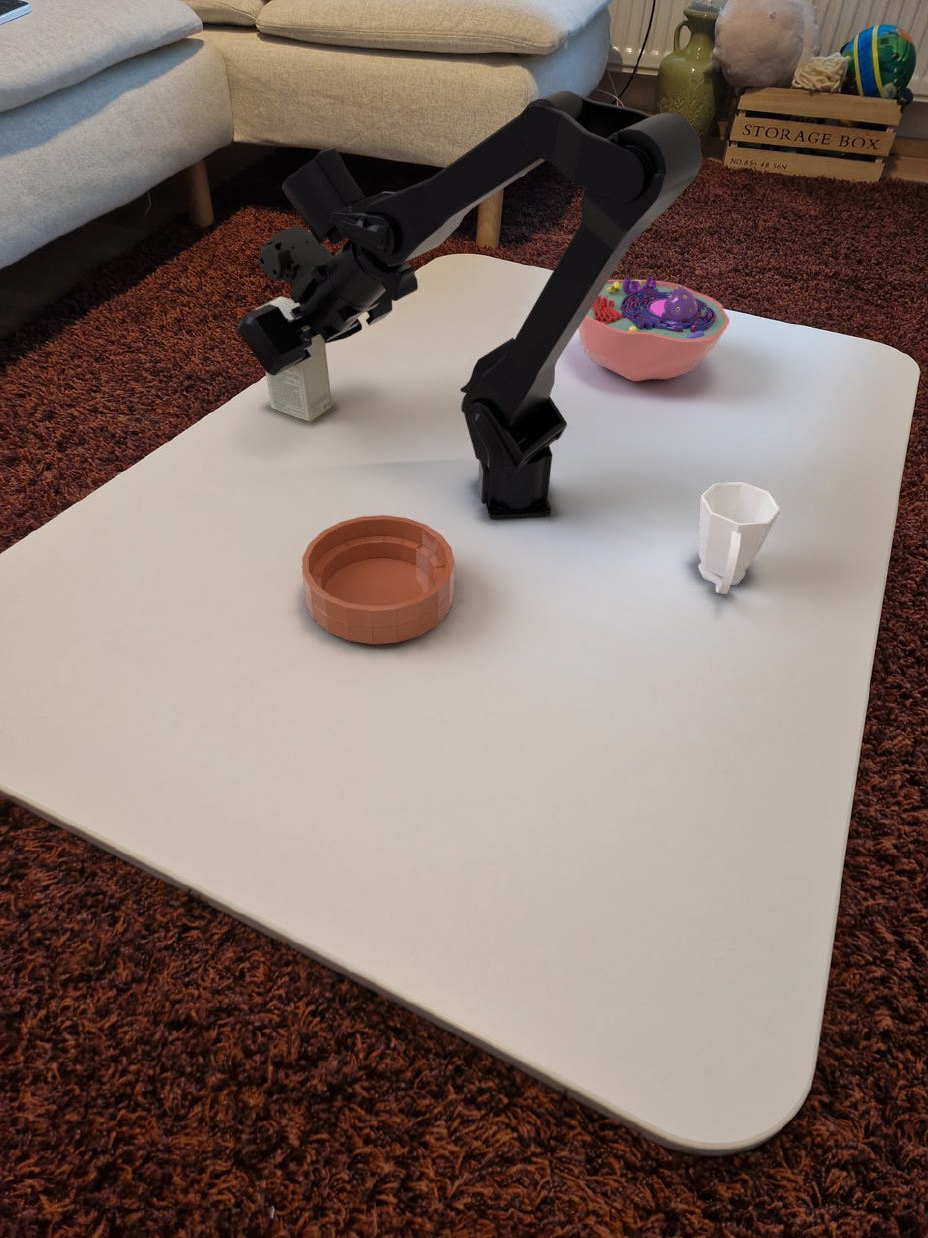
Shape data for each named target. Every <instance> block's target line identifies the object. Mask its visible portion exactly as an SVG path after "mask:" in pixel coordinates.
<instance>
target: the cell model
mask: <svg viewBox="0 0 928 1238" xmlns="http://www.w3.org/2000/svg"><path fill="white" fill-rule="evenodd" d="M729 324H730V318H729V316H728V314H727V313H726V312H725V309H724V307H723V305H722V304H721V302H719V301H718V300H717V299H715V298H713V297H711V296H709V295H706V294H703V293H702V292H698V291H695V289H692V288H689V287H687V286H685V285H682V284H678V283H674V282H667V281H662V280H656V279H653V276H647V279H631V278H629V277H625V278H624V279H609V280H608V281H607V283H606V284H605V286H604V288H603V289H602V291H601V292H600V294H599V296H598V297H597V299H596V300H595V302H594V303H593V305H592V307H591V308H590V310H589V311H588V313H587V315H586V316H585V318H584V319H583V321H582V322H581V324H580V326H579V327H578V329H577V331H578V337H579V342H580V346H581V349H582V350H583V352H584V354H585V355H586V356H587V357H588V358H589V360H591V362H593V363H595V364H597V365H598V366H601V367H603V368H604V369H607V370H610V371H612V372H613V373H615V374H617V375H619V376H621V377H623V378H625V379H627V380H628V381H632V382H642V381H648V380H668V379H673V378H677V377H679V376H682V375H685V374H687V373H689V372H691V371H692V370H693V369H694V368H695V367H696V366H697V365H698V364H699V363H700V362H701V361H702V360H704V358H705V357H706V356H708V355H709V354H710V352H711V351H712V350H713V349H714V348H715V347H716V345H717V344H718V343H719V341H720V339H721V337H722V336H723V334H724V332H725V331H726V329H727V327H728V326H729Z"/></svg>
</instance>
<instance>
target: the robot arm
mask: <svg viewBox="0 0 928 1238" xmlns="http://www.w3.org/2000/svg"><path fill="white" fill-rule="evenodd" d="M701 148H702V147H701V141H700V138H699V136H698V133H697V131H696V129H695V128H694V127H693V125H692V123H690V121H688V119H686V118H685V117H683V116H681V115H679V114H678V113H674V112H673V113H672V112H668V111H667V112H661V113H658V114H654V115H652V114H649V113H647V112H644V111H642V110H640V109H636V108H631V107H626V106H621V105H617V104H612V103H606V102H602V101H601V102H600V101H596V100H593V99H590V98H588V97H586V96H583V95H580V94H579V93H575V92H572V91H571V90H558V91H556V92H554V93H551V94H550V93H549V94H547V95H545V96H542V97H539V98H537V99H534V100H532V101H530V102H529V103H527V104H526V105H525V108H524V109H523V110H522V111H521V113H520V114H518V115H516V116H515V117H514V118H512V119H511V120H509V121H508V122H507V123H505V124H504V125H502V126H501V127H500V128H499V129H497V130H496V131H494V132H493V133H492V134H490V135H489V136H488V137H486V138H485V139H483V140H482V141H481V142H479V143H478V144H476V145H475V146H473V147H472V148H471V149H469V150H468V151H466V152H465V153H463V154H462V155H461V156H460V157H458V158H457V159H456V160H454V161H453V162H451V163H450V164H449V165H447V166H446V167H444V168H443V169H442V170H440V171H439V172H437V173H435V174H434V175H433V176H432V177H431V178H428V179H426V180H424V181H421V182H419V183H416V184H413V185H411V186H408V187H406V188H403V189H400V190H398V191H382V192H379V193H377V194H375V195H372V196H369V197H366V196H365V195H364V193H363V192H362V190H361V188H360V186H359V185H358V184H357V182H356V181H355V179H354V178H353V176H352V175H351V173H350V172H349V169H347V167H346V165H345V162H344V160H343V158H342V157H341V155H340V154H339V152H338V150H337V149H336V148H335V147H330V148H327V149H324V150H321V151H318V153H317V154H316V155H315V157H314V158H313V159H312V160H310V161H308V162H307V163H305V164H304V165H302V166H301V167H300V168H298V170H296V171H295V172H293V173H291V174H289V175H288V176H287V177H286V179H285V180H284V182H283V183H282V187H281V188H282V191H283V192H284V194H285V195H286V197H287V199H288V200H289V202H290V203H291V205H292V206H293V208H294V209H295V211H296V212H297V214H298V215H299V216H300V218H301V220H302V221H303V223H304V224H305V226H306V227H307V229H306V228H304V227H302V226H299V225H298V226H297V225H295V226H291V227H289V228H286V229H284V230H281V231H279V232H277V233H274V234H272V235H271V237H270V239H268V240H265V241H264V244H263V246H262V247H260V248H259V249H258V254H259V256H258V260H257V264H258V267H259V269H260V270H261V271H262V272H264V273H265V274H266V275H267V276H268V277H269V278H270V279H271V280H272V281H274V282H278V281H280V280H283V281H284V282H285V283H287V284H288V285H289V286H291V287H292V288H291V289H290V290H289V291H288V293H287V294H288V296H289V297H290V299H291V300H293V301H294V303H295V304H296V303H299V304H300V306H298V307H296V308H293V309H292V310H291V311H290V314H291V316H292V317H293V318H294V319H292V320H288V318H286V317H285V316H284V315H283V313H282V312H281V310H280V309H279V307H277V306H274V305H271V304H268V305H266V306H263V307H261V308H259V309H257V310H255V309H254V310H253V311H250V312H248V313H246V314H245V315H243V316H242V318H241V319H240V321H239V322H238V323H237V330H236V331H237V332H238V333H239V334H240V336H241V338H242V340H243V341H244V342H245V343H246V345H247V346H248V348H249V349H250V351H251V352H252V354H253V355H254V357H255V358H256V359H257V360H258V362H259V364H260V365H261V366H262V368H263V370H264V372H265V371H266V372H267V373H268V374H271V375H273V376H275V375H277V374H279V373H281V372H283V371H285V370H287V369H289V368H291V367H292V366H294V365H297V364H298V363H300V362H302V361H304V360H306V359H308V358H310V357H311V355H310V353H309V352H308V350H307V349H308V348H310V347H311V346H312V339H313V338H315V337H317V336H319V335H321V336H322V338H323V339H324V341H325V345H326V344H329V343H333V342H337V341H340V340H344V339H345V340H346V339H348V338H350V337H351V336H353V335H356V334H358V333H359V332H361V331H362V330H363V324H362V323H361V321H360V319H359V318H360V317H361V315H363V314H364V313H367V314H368V317H367V318H365V322H366V323H367V325H368V326H372V325H374V324H377V323H378V322H379V321H381V320H384V319H385V318H386V317H387V316H388V315H389V314H391V312H392V311H393V302H397V301H400V300H401V299H403V298H405V297H407V296H409V295H410V294H413V293H415V292H417V291H418V289H419V284H418V283H419V282H418V279H417V276H416V273H415V272H416V267H415V266H414V265H410V264H409V263H408V261H410V260H413V259H414V258H417V257H419V256H421V255H423V254H425V253H427V252H429V251H431V250H433V249H435V248H437V247H439V246H441V245H442V244H443V243H444V242H445V241H446V239H448V237H450V236H451V235H452V234H453V232H454V231H456V229H458V228H459V226H460V225H461V223H462V221H463V219H464V217H466V216H467V214H468V213H469V212H470V211H471V210H472V209H473V208H475V207H477V206H478V205H479V204H481V203H482V202H484V201H485V200H487V199H488V198H490V197H492V196H493V195H495V194H496V193H498V192H499V191H501V190H502V189H504V188H505V187H507V186H508V185H510V184H512V183H513V182H515V181H516V180H518V179H519V178H521V177H522V176H524V175H526V174H527V173H528V172H530V171H531V170H533V169H535V168H536V167H539V165H541V164H542V163H544V162H545V161H547V162H549V163H550V164H552V165H553V166H554V167H555V168H556V169H557V170H559V172H560V173H562V175H563V176H565V178H567V180H569V182H571V183H573V184H576V185H577V186H579V187H583V191H582V196H581V197H582V200H581V215H580V221H579V224H578V226H577V229H576V230H575V232H574V234H573V236H572V237H571V239H570V240H569V242H568V244H567V246H566V248H565V250H563V251H564V252H563V253H562V256H561V257H560V258H559V260H558V262H557V264H556V266H555V268H554V269H553V271H552V273H551V274H550V276H549V278H548V280H547V281H546V283H545V285H544V286H543V288H542V290H541V292H540V294H539V295H538V297H537V299H536V301H535V302H534V304H533V306H532V307H531V309H530V311H529V312H528V315H527V317H526V318H525V320H524V322H523V324H522V326H521V327H520V329H519V331H518V332H517V334H516V336H515V337H511V338H510V339H508V340H507V341H504V342H503V343H502V344H499V346H496V348H494V349H492V350H491V351H489V352H487V353H486V354H485V355H483V356H481V357H479V358H478V359H477V361H476V363H475V364H474V366H473V369H472V373H471V376H470V378H469V380H468V381H467V382H466V384H465V385H464V386H462V387H460V392H461V393H464V394H465V395H464V396H463V397H462V401H461V409H460V410H461V413H463V414H464V418H465V423H466V426H467V430H468V434H469V437H470V441H471V444H472V448H473V453H474V455H475V459H476V460H478V479H477V480H478V481H477V491H478V495H479V498H480V502H481V503H482V504H483V505H484V506H485V509H486V513H487V516H488V518H490V519H493V520H494V519H511V518H526V517H527V518H528V517H541V516H550V515H551V514H552V507H551V504H550V502H549V492H550V491H549V490H550V480H551V472H552V463H553V453H552V450H551V446H550V445H552V444H553V443H554V442H556V441H558V440H559V439H561V438H562V435H563V434H564V432H565V430H566V428H567V426H568V423H567V421H566V419H565V418H564V416H563V415H562V413H561V411H560V410H559V408H558V407H557V405H556V403H555V402H554V400H553V398H552V397H551V396H550V395H551V393H552V390H553V388H554V385H555V380H556V377H555V376H556V365H557V362H558V360H559V359H560V358H561V356H562V354H563V353H564V351H565V349H566V347H567V346H568V344H569V343H570V342H571V340H572V338H573V337H574V335H575V334H576V332H577V331H578V327H579V326H580V324H581V322H582V321H583V319H584V318H585V316H586V315H587V313H588V311H589V310H590V308H591V307H592V305H593V303H594V302H595V300H596V299H597V297H598V296H599V294H600V292H601V291H602V289H603V288H604V286H605V284H606V283H607V281H608V280H610V278H611V277H612V275H613V274H614V272H615V271H616V269H617V267H618V266H619V264H620V262H621V261H622V259H623V257H624V256H625V254H626V253H627V251H628V250H629V248H631V247H630V246H632V244H633V242H635V240H637V238H639V236H640V235H641V234H642V233H643V232H644V231H646V230H647V228H649V227H650V226H651V225H652V224H653V223H654V222H655V221H656V220H658V218H659V217H660V216H661V215H663V214H664V213H665V212H666V211H667V210H668V209H669V208H670V206H672V205H673V203H674V202H675V201H676V200H677V199H678V198H679V197H680V195H681V194H682V193H683V192H684V191H685V190H686V189H687V188H688V187H689V186H690V185H691V184H692V183H693V181H694V180H695V179H696V177H697V176H698V173H699V171H700V169H701V166H702V162H703V153H702V149H701ZM309 231H310V232H309ZM346 239H347V241H346ZM327 240H328V241H329V243H330V245H332V246H334V245H338V244H340V243H342V242H344V241H346V242H345V244H344V245H343V246H342V247H341V248H340V249H339V250H338V252H337V253H336V254H335V255H334V256H332V255H331V253H330V252H329V249H328V248H327V247H326V246H325V245H324V244H323V243H324V242H326V241H327ZM301 316H302V317H301ZM299 317H300V318H299ZM297 318H298V319H297ZM295 319H296V320H295ZM308 328H310V329H308ZM306 329H307V331H306ZM304 330H305V331H304ZM303 331H304V332H303ZM266 372H265V373H266Z"/></svg>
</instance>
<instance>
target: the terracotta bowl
mask: <svg viewBox="0 0 928 1238" xmlns="http://www.w3.org/2000/svg"><path fill="white" fill-rule="evenodd" d="M302 555H303V556H302V557H301V573H302V582H303V590H304V599H305V605H306V608H307V610H308V612H309V613H310V615H311V617H312V619H313V621H314V622H315V623H317V624H318V625H319V626H320V627H321V628H323V629H324V630H325V631H327V632H328V633H329V634H331V635H334V636H336V637H339V638H341V639H342V640H346V641H350V642H352V643H353V642H355V643H360V644H361V643H362V644H368V645H383V644H385V645H386V644H396V643H401V642H405V641H407V640H410V639H414V638H417V637H420V636H422V635H424V634H426V633H427V632H428V631H430V630H432V629H434V628H435V627H436V626H438V625H439V624H440V622H441V621H443V619H444V618H445V617H446V615H447V614H448V613H449V612H450V611H451V610H450V609H451V607H452V603H453V599H454V595H455V593H454V591H455V589H454V588H455V558H454V555H453V549H452V547H451V545H450V544H449V543H448V541H447V540H446V539H445V537H443V535H442V534H441V533H439V532H438V531H436V530H434V529H433V528H432V527H430V526H429V525H428V524H425V523H422V522H420V521H417V520H413V519H410V518H408V517H401V516H395V515H394V516H393V515H385V514H380V515H367V516H366V515H365V516H364V515H363V516H358V517H355V518H351V519H347V520H343V521H340V522H338V523H336V524H334V525H332V526H330V527H328V528H326V529H324V530H323V531H321V532H320V533H318V534H317V536H316V537H315V538H313V539H312V540H311V541H310V542H309V543H308V545H307V547H306V549H305V551H304V554H302Z"/></svg>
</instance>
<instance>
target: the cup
mask: <svg viewBox="0 0 928 1238" xmlns="http://www.w3.org/2000/svg"><path fill="white" fill-rule="evenodd" d="M772 495H773V494H771V492H770V491H768V490H765V489H763V488H760V487H758V486H755V485H753V484H749V483H746V482H745V481H728V482H727V481H726V482H714V483H713V484H712V485H710V487H709V488H708V489H706V490H705V491H704V493H702V494H701V495H700V506H699V523H698V536H697V537H698V539H697V541H698V555H699V560H700V562H699V564H698V566H697V569H698V570H699V572H700V574H701V576H702V578H703V580H706V581H709V582H711V583H713V584H715V592H716V593H718V594H721V595H727V594H728V593H729V590H730V588H731V586H738V585H739V583H740V582H741V581H742V580H743V579H744V577H746V570H747V569H748V568H749V567H750V566H751V564H752V562H753V561H754V559H755V558H756V556H757V555H758V553H759V552H760V551H761V549H762V546H763V544H764V543H765V541H766V539H767V537H768V534H769V533H770V531H771V529H772V527H773V526H774V523H775V522H776V520H777V519H778V516H779V514H780V512H781V510H782V508H781V507H780V506H779V504H778V502H777V501H776V500H775V498H774V497H773V496H772Z"/></svg>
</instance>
